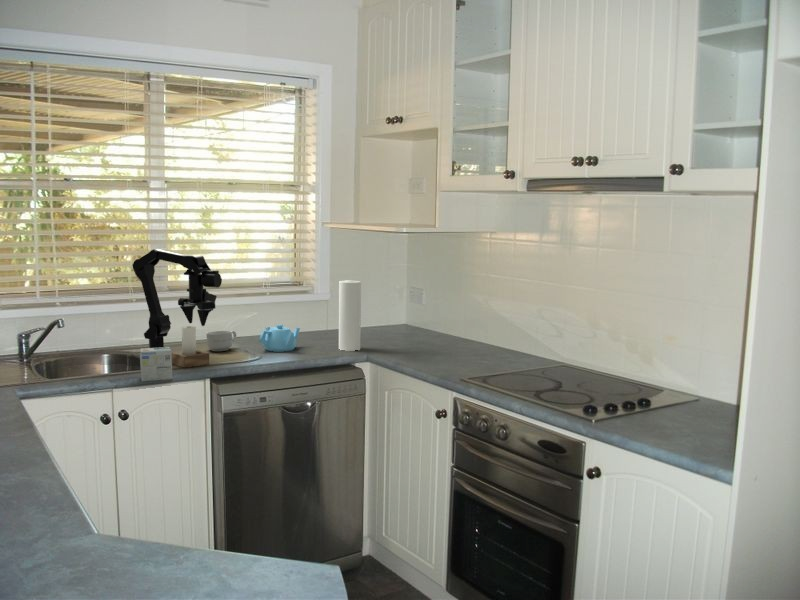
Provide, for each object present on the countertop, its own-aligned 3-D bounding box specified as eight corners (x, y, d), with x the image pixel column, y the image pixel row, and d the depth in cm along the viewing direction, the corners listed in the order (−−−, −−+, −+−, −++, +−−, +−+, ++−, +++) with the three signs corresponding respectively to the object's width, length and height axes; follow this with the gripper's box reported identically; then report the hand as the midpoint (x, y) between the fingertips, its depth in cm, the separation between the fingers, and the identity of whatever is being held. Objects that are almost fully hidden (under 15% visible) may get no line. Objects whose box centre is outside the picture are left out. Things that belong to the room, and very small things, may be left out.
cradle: (169, 362, 298) (168, 352, 297) (192, 359, 305) (192, 348, 305) (185, 367, 290) (185, 356, 289) (209, 363, 297) (209, 353, 297)
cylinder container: (359, 351, 327) (360, 281, 323) (337, 350, 327) (338, 281, 323) (361, 347, 336) (361, 279, 332) (339, 346, 336) (340, 279, 333)
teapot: (266, 345, 337) (266, 321, 336) (300, 346, 336) (300, 322, 335) (258, 352, 322) (258, 327, 321) (293, 353, 321) (293, 327, 320)
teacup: (213, 353, 317) (213, 334, 316) (201, 349, 325) (201, 331, 324) (243, 350, 326) (243, 331, 324) (231, 346, 334) (231, 328, 333)
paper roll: (181, 359, 299) (181, 325, 298) (195, 358, 301) (195, 325, 299) (182, 361, 294) (182, 327, 293) (196, 361, 296) (196, 327, 294)
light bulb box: (171, 375, 277) (170, 346, 276) (172, 379, 271) (172, 349, 270) (140, 377, 273) (139, 347, 272) (141, 381, 267) (140, 351, 266)
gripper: (226, 286, 308) (226, 325, 310) (200, 283, 320) (201, 319, 322) (202, 289, 299) (203, 328, 301) (176, 284, 312) (177, 322, 314)
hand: (196, 324), depth 310 cm, fingers open, 9 cm apart
